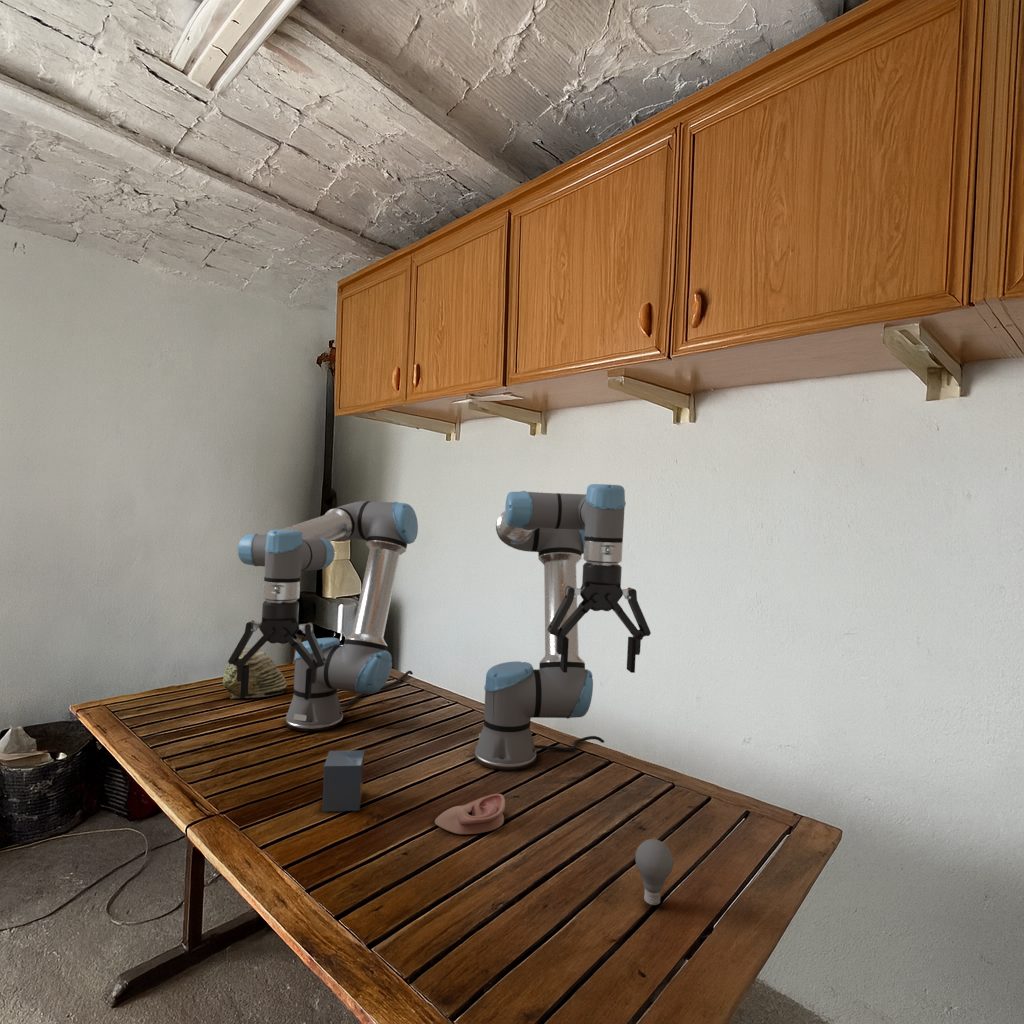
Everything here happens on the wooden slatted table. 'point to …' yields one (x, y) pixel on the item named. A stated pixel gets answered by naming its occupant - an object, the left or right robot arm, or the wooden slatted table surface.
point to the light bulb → (653, 868)
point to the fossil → (256, 677)
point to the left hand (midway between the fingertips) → (276, 697)
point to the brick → (343, 781)
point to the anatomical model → (474, 816)
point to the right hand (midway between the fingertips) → (597, 670)
